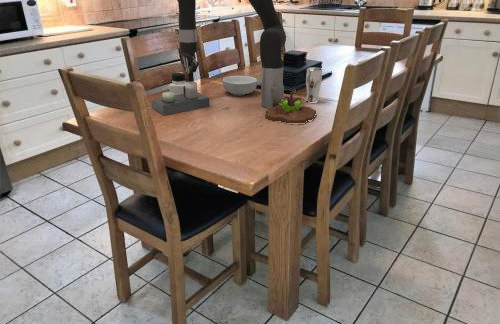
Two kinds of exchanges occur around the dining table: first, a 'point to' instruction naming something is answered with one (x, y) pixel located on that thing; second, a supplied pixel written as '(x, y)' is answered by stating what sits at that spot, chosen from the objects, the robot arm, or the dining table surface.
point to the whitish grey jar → (191, 90)
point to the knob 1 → (168, 97)
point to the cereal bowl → (239, 84)
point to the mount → (180, 104)
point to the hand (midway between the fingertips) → (190, 81)
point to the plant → (290, 111)
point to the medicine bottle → (178, 83)
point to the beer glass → (313, 83)
